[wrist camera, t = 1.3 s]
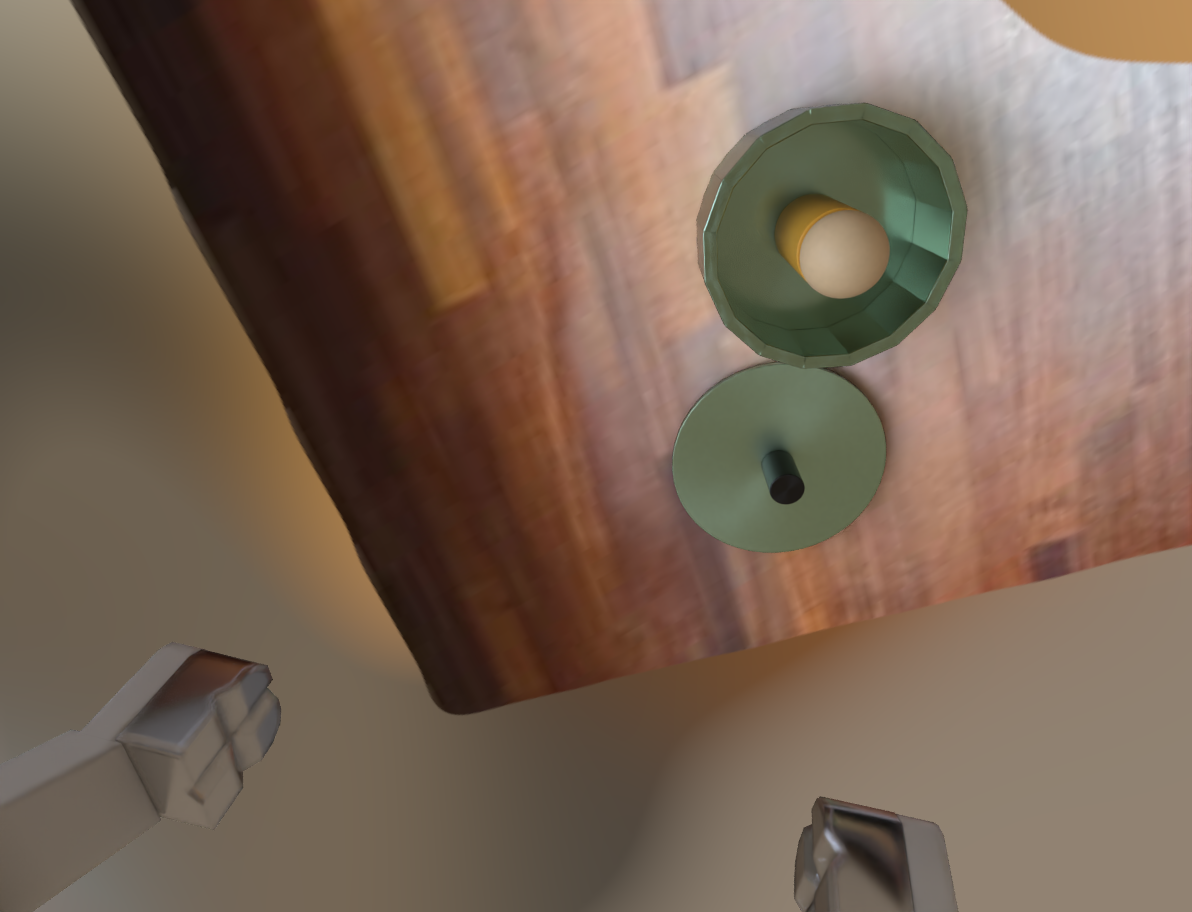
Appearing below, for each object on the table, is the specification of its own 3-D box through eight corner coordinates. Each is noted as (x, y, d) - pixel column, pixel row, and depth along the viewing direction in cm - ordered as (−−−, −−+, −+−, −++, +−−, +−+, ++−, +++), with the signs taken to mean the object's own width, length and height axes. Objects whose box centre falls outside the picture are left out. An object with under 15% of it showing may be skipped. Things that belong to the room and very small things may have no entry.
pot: (692, 119, 44) (699, 120, 39) (936, 93, 43) (982, 90, 37) (700, 345, 51) (707, 376, 45) (913, 329, 49) (950, 358, 43)
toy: (774, 197, 46) (810, 220, 36) (848, 190, 45) (905, 211, 35) (773, 270, 48) (807, 311, 38) (844, 264, 47) (897, 303, 37)
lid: (666, 367, 51) (668, 392, 47) (889, 351, 50) (914, 375, 45) (676, 549, 58) (679, 587, 53) (874, 540, 57) (894, 578, 52)
